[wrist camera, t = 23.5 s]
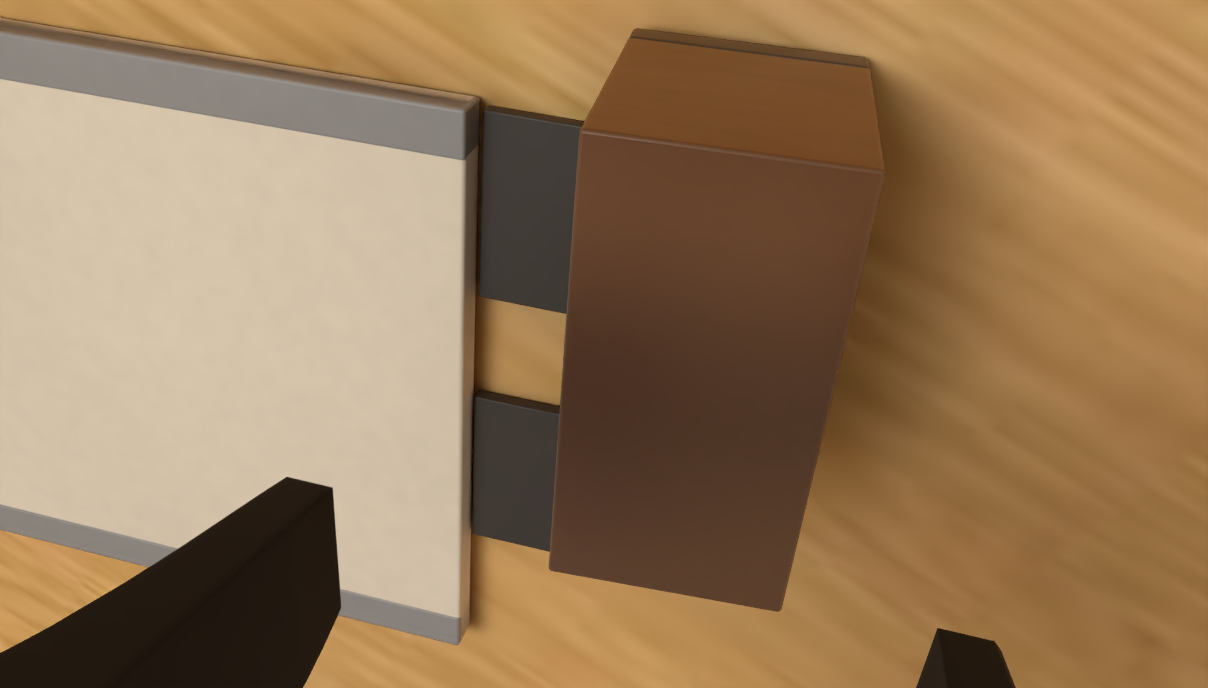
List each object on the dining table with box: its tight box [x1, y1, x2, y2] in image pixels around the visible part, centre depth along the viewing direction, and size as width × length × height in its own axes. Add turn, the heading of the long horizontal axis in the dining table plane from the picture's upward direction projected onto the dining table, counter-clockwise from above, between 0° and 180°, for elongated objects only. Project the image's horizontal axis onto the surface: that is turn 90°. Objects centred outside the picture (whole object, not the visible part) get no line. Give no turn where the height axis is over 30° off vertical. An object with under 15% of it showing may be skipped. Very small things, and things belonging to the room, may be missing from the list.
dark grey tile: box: [479, 105, 584, 314], centre depth 21 cm, size 4×3×1 cm
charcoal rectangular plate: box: [472, 390, 560, 552], centre depth 24 cm, size 4×3×1 cm
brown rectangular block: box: [549, 28, 885, 612], centre depth 18 cm, size 8×4×5 cm, turn 175°
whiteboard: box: [0, 18, 479, 645], centre depth 25 cm, size 14×20×1 cm
